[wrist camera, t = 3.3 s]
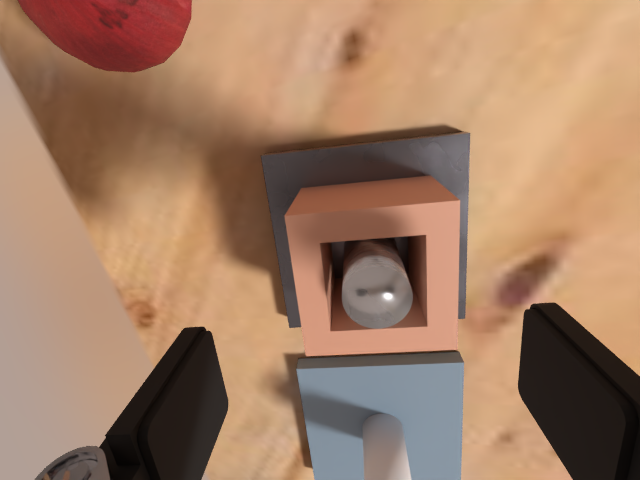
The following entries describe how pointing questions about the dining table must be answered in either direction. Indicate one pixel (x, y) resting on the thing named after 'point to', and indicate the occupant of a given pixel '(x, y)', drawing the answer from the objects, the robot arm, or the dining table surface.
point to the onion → (113, 29)
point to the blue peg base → (384, 416)
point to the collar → (372, 223)
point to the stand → (370, 254)
